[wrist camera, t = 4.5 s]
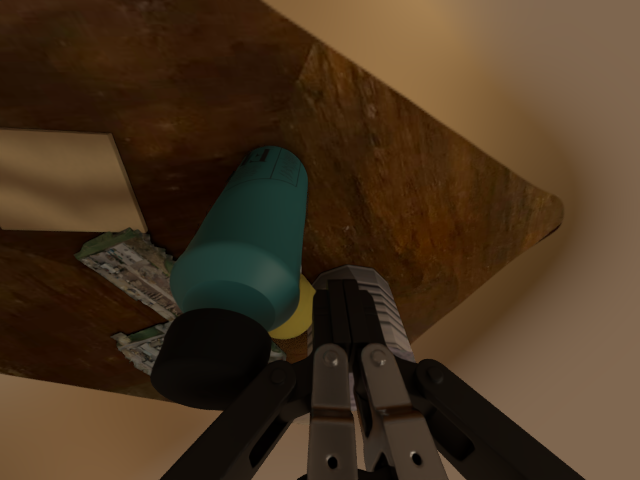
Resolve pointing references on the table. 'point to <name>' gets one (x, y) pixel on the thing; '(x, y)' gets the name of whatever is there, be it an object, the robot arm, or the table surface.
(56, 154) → the mat
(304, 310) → the light bulb
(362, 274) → the can
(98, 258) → the model
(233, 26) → the table surface
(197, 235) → the beverage bottle
